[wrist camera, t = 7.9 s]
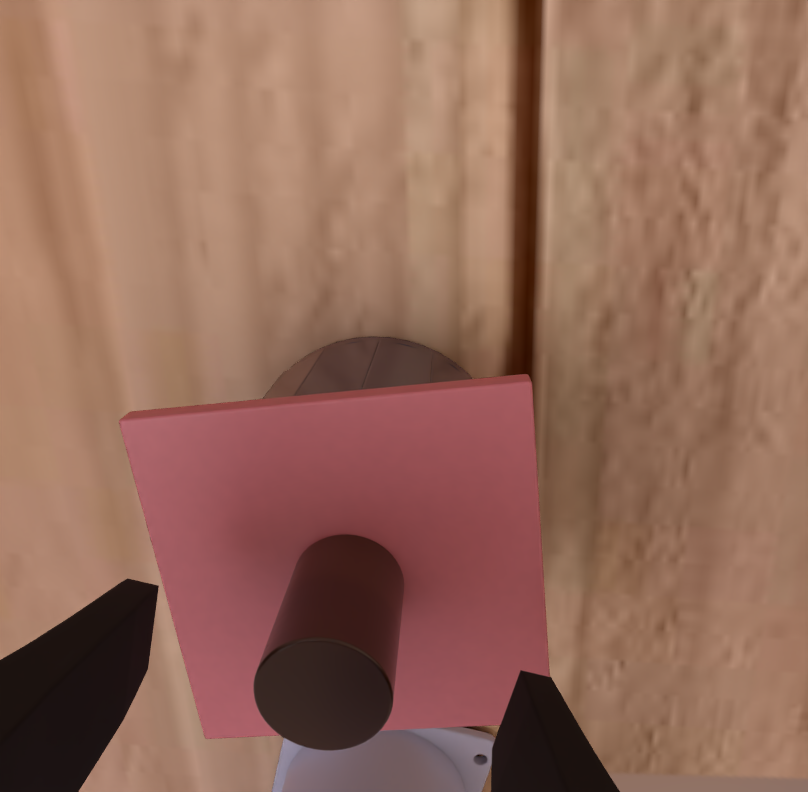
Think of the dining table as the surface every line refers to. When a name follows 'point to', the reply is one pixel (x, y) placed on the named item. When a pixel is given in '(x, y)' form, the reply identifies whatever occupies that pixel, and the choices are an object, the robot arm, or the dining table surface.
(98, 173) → the dining table surface
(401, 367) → the dark faceted cylinder
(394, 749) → the robot arm
